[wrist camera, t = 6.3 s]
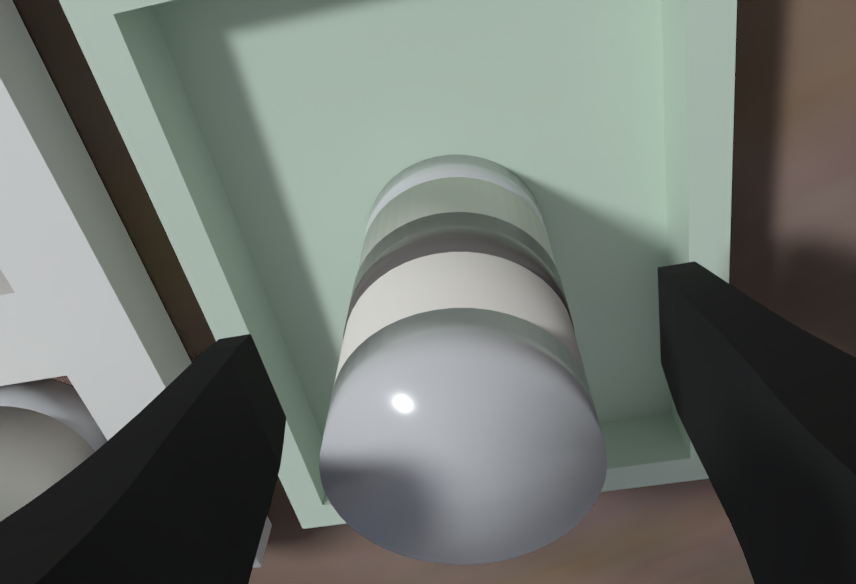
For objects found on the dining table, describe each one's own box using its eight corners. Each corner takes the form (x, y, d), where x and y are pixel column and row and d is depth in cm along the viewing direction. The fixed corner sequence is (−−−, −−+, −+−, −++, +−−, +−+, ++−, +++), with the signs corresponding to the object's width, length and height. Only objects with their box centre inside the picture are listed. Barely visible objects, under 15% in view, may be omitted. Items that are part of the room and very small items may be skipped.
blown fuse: (554, 297, 16) (617, 548, 10) (389, 324, 17) (360, 578, 11) (532, 136, 14) (597, 336, 8) (344, 173, 15) (278, 386, 9)
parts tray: (698, 421, 19) (723, 476, 17) (314, 472, 20) (302, 528, 18) (699, -188, 12) (742, -196, 10) (98, -42, 13) (46, -27, 11)
